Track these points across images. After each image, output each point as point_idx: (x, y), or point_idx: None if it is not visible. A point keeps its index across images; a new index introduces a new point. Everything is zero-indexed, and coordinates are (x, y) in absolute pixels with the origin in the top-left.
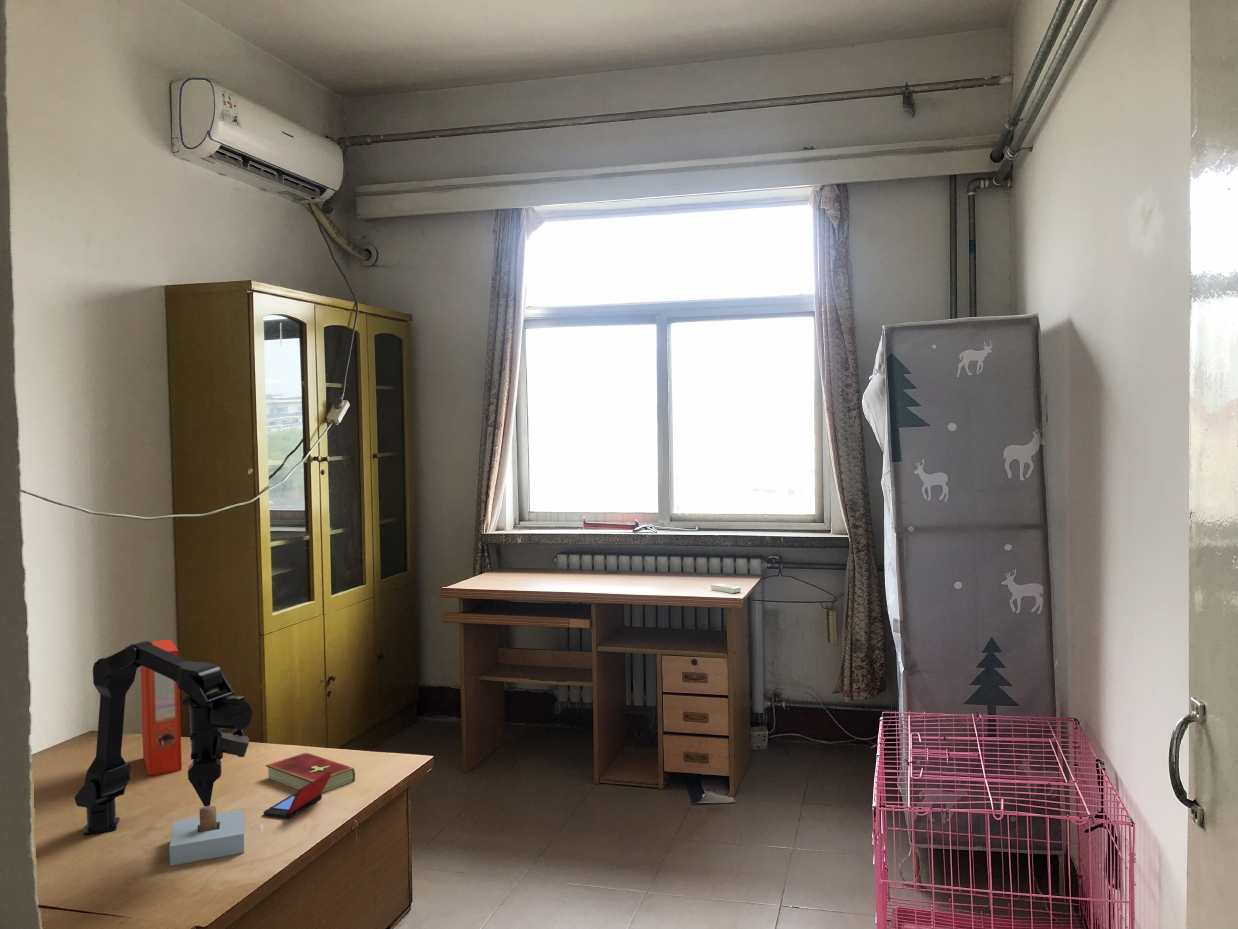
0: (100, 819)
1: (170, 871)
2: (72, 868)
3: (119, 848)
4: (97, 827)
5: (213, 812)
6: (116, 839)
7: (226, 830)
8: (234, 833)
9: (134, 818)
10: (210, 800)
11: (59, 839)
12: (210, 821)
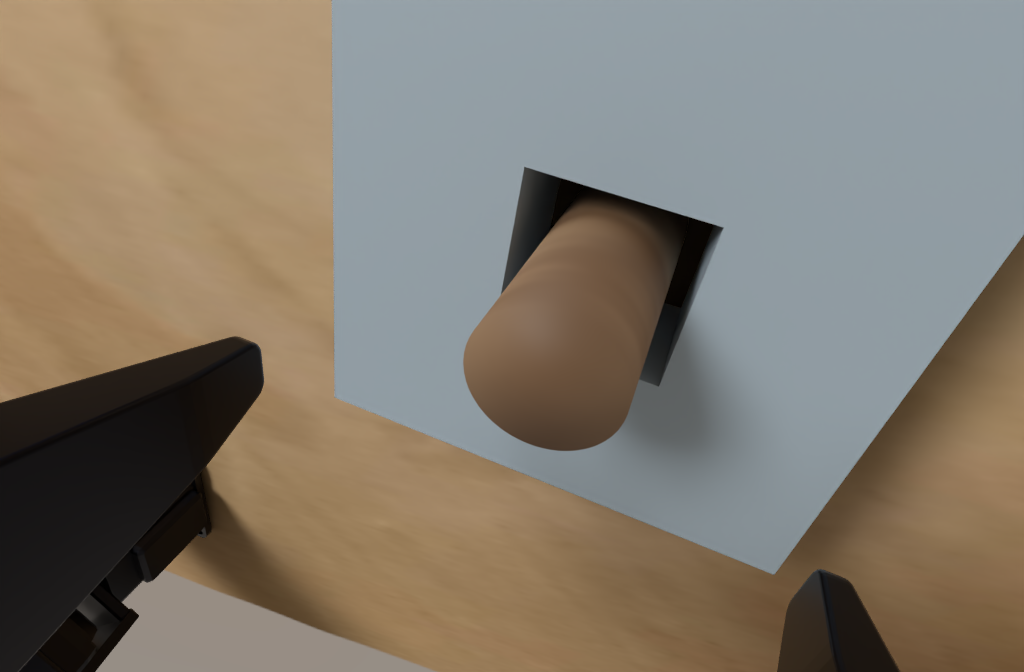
0: (168, 540)
1: (863, 500)
2: (487, 651)
3: (384, 513)
4: (194, 523)
5: (624, 337)
6: (286, 486)
7: (825, 182)
8: (1017, 133)
9: (96, 374)
10: (895, 667)
11: (220, 573)
12: (654, 326)
